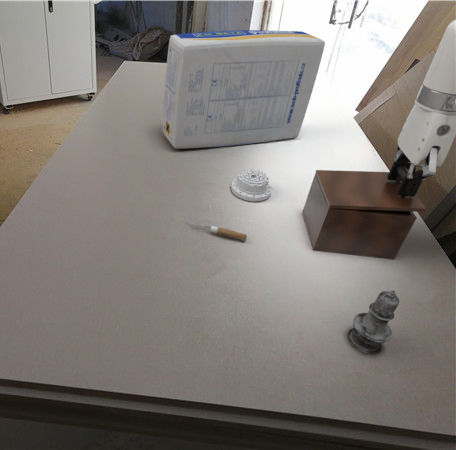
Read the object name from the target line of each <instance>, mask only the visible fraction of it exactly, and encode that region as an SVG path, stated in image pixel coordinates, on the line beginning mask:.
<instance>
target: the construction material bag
mask: <svg viewBox="0 0 456 450" xmlns="http://www.w3.org/2000/svg"><path fill="white" fill-rule="evenodd" d="M325 46H326V41H325V40H323V39H321V38H319V37H316V36H314V35H312V34H309V33H307V32H304V31H301V30H300V31H299V30H261V29H260V30H258V29H257V30H256V29H253V30H252V29H251V30H247V29H246V30H245V29H244V30H239V29H237V30H218V31H203V32H188V33H176V34H172V35H170V37H169V42H168V48H167V49H168V50H167V59H166V69H165V77H164V79H165V80H164V90H163V92H164V93H163V110H162V111H163V112H162V134H163V135H164V137H166V139H167V140H168V142H169V143H170V144H171V145H172V147H173V148H174V149H177V150H179V149H181V150H183V149H199V148H200V149H202V148H217V147H231V146H241V145H250V144H259V143H266V142H273V141H279V140H280V141H281V140H286V139H293V138H297V137H298V136H299V135H300V132H301V129H302V125H303V123H304V120H305V116H306V113H307V110H308V106H309V103H310V100H311V97H312V93H313V91H314V87H315V83H316V80H317V76H318V74H319V73H318V72H319V69H320V65H321V62H322V58H323V54H324V50H325Z"/></svg>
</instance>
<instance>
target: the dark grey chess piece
mask: <svg viewBox="0 0 456 450" xmlns="http://www.w3.org/2000/svg"><path fill="white" fill-rule="evenodd" d="M399 305H400V298H399V296H398V295H397V294H396V292H395V290H390V291H388V290H383V291H381V292H380V293H378V295H377V297H376V299H375V301H374V302H372V303H370V304H369V306H368V312H359V313H357V314H355V315H354V316H353V319H352V326H353V327H352V328H350V329H349V330H348V332H347V339H348V341H349V343H350V344H351V346H352V347H353V348H354V349H356V350H357V351H359V352H361V353H363V354H366V355H376V354H378V353H380V351H381V350H382V346H383V344H384V343H386V342H389V341H390V340H391V338H392V337H393V330H392V329H391V326H390V325H389V322H390V321H392V320H394V319H395V312H396V310H397V308H398V306H399Z"/></svg>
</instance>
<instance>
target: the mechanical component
mask: <svg viewBox="0 0 456 450" xmlns="http://www.w3.org/2000/svg"><path fill="white" fill-rule="evenodd" d="M269 178H270V177H268V176H267V174H266V173H264V171H260V170H254V169H251V168H250V169H247V170H246V169H244V170H241V171H239V173H238V174H237V177H235V178H234V179H233V180H232V181H231V184H230V190H231V192H232V194H233V195H235V196H236V197H237V198H240V199H241V200H243V201H250V202H262V201H263V202H264V201H265V200H267V199H269V198H270V197H271V194H272V190H273V189H272V186H271V185H270V184H269V183H270V182H269V181H270V180H269Z"/></svg>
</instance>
